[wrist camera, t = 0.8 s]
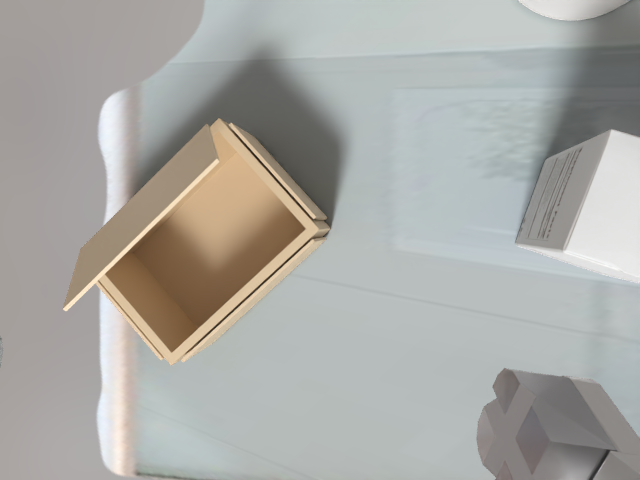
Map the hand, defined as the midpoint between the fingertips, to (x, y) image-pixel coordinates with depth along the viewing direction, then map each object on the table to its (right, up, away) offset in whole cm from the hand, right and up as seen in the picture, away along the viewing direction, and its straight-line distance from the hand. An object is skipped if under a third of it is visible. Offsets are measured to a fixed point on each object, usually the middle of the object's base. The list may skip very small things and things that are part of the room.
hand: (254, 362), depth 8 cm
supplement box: (+25, +4, +39) cm, 47 cm away
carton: (-9, +2, +44) cm, 45 cm away
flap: (-14, +7, +37) cm, 40 cm away
